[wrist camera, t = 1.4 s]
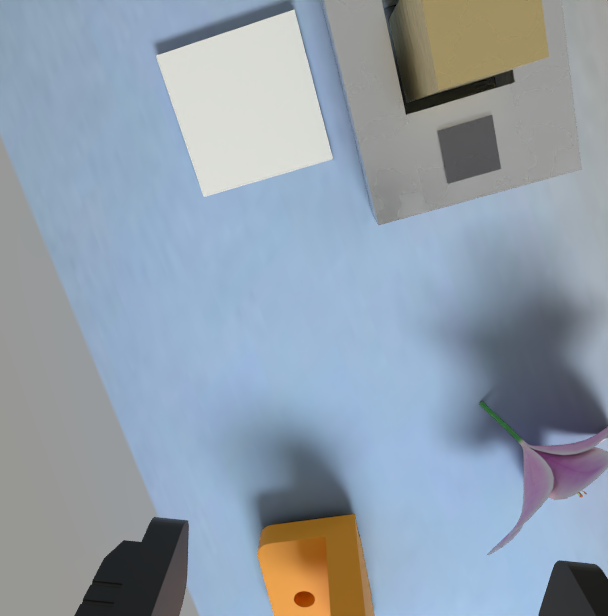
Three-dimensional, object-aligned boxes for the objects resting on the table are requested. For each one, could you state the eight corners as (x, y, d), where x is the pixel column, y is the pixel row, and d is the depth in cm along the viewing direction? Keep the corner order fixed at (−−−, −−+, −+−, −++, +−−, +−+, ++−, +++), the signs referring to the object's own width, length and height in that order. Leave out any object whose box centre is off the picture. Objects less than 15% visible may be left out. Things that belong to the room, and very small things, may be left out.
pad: (295, 11, 28) (294, 9, 28) (333, 158, 31) (333, 158, 30) (159, 57, 29) (155, 55, 29) (205, 195, 32) (203, 196, 31)
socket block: (514, -157, 26) (540, -196, 23) (557, 165, 30) (583, 169, 27) (301, -81, 27) (298, -108, 24) (373, 217, 32) (378, 225, 29)
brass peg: (469, -7, 28) (532, -69, 19) (483, 79, 29) (548, 56, 21) (388, 19, 28) (415, -30, 20) (406, 102, 30) (438, 90, 21)
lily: (437, 499, 39) (533, 618, 32) (397, 412, 32) (510, 540, 25) (560, 409, 41) (680, 504, 33) (549, 306, 33) (699, 397, 26)
